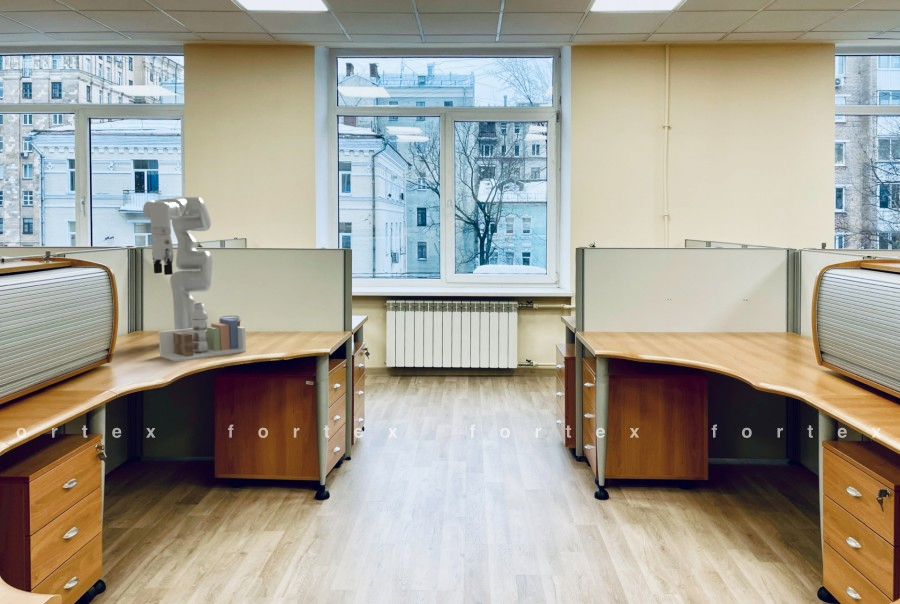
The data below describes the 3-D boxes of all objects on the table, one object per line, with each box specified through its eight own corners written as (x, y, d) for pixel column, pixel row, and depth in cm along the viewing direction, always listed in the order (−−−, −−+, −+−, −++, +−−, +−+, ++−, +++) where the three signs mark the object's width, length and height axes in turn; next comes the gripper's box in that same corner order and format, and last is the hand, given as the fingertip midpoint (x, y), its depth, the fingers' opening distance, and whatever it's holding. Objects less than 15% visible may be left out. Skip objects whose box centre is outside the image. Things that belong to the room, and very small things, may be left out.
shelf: (159, 356, 288) (158, 324, 286) (229, 347, 308) (227, 317, 307) (175, 361, 277) (173, 328, 275) (245, 351, 298) (244, 320, 296)
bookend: (174, 352, 289) (173, 332, 288) (181, 351, 291) (180, 332, 291) (185, 355, 282) (184, 336, 281) (193, 354, 284) (192, 335, 283)
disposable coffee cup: (235, 345, 312) (234, 318, 311) (215, 344, 314) (214, 318, 312) (245, 341, 321) (245, 315, 320) (226, 341, 323) (225, 315, 322)
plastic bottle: (202, 350, 296) (200, 302, 293) (212, 351, 292) (210, 303, 290) (188, 352, 290) (186, 303, 288) (199, 354, 287) (197, 305, 284)
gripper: (179, 232, 287) (181, 274, 289) (161, 231, 299) (163, 272, 301) (161, 232, 282) (163, 275, 284) (143, 232, 294) (145, 273, 296)
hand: (163, 273), depth 293 cm, fingers open, 9 cm apart
